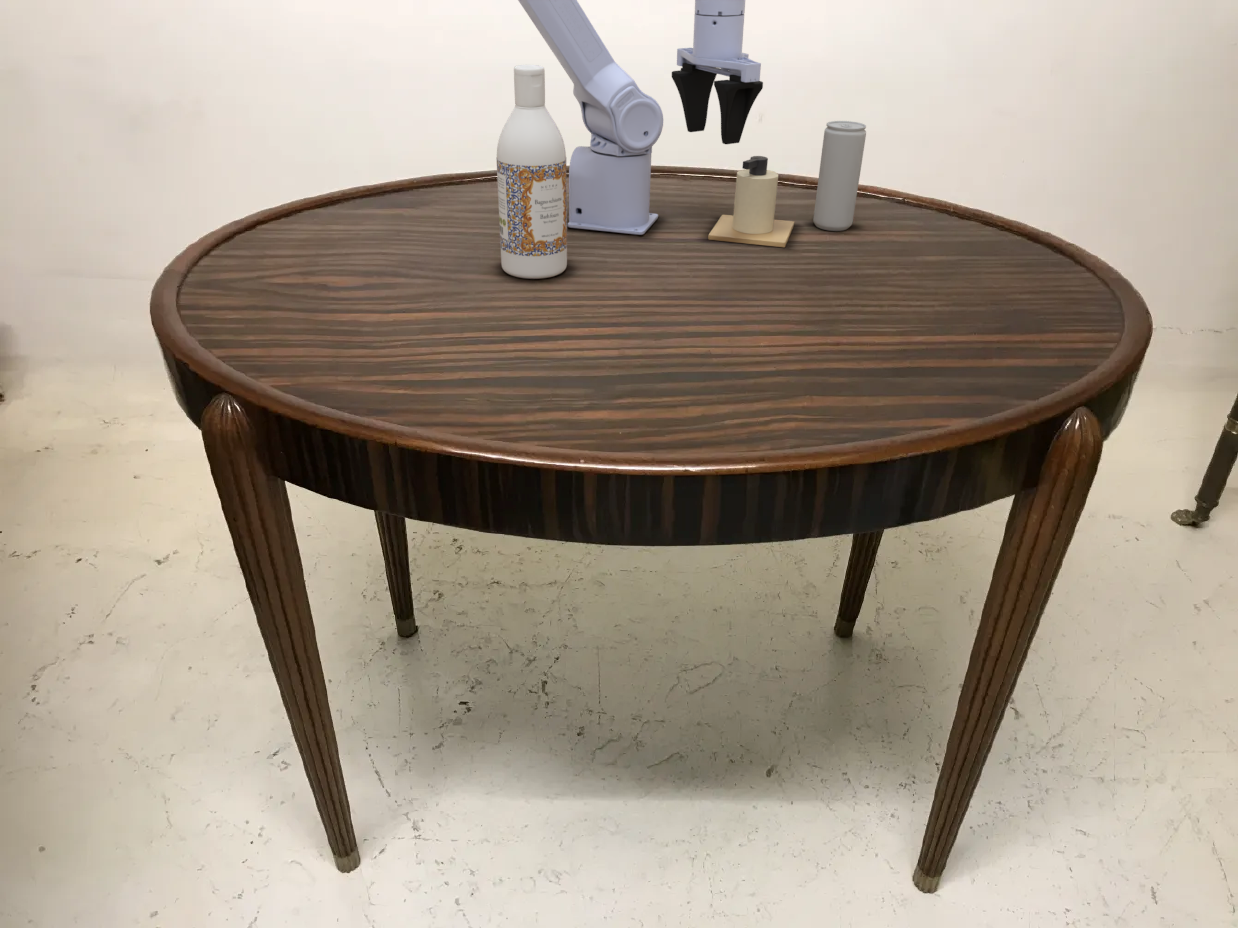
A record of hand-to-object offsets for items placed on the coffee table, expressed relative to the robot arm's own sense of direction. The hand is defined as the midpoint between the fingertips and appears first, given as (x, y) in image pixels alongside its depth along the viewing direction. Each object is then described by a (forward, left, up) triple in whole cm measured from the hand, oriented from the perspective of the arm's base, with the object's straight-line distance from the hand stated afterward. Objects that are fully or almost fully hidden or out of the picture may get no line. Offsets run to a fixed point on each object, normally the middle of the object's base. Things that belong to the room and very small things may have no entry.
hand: (712, 137), depth 114 cm
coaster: (+7, -6, -9) cm, 13 cm away
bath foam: (-13, -27, -10) cm, 32 cm away
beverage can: (+16, 0, -10) cm, 18 cm away
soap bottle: (+7, -6, -9) cm, 13 cm away
